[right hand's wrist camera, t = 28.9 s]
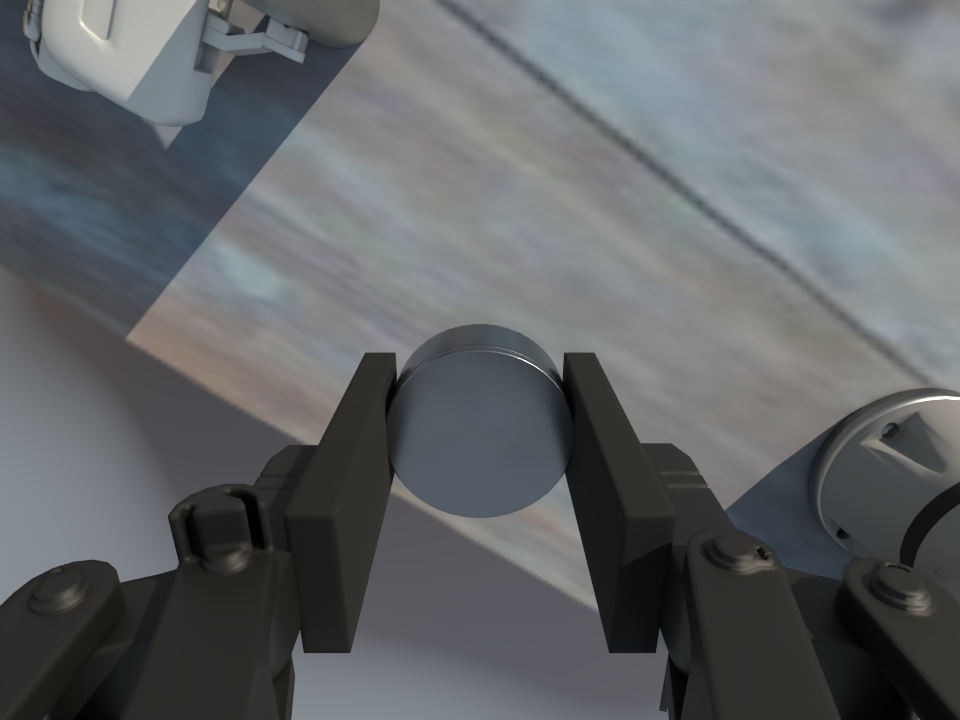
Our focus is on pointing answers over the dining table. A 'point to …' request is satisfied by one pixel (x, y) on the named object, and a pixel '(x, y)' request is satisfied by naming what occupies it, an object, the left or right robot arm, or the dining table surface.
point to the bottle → (324, 18)
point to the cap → (479, 422)
